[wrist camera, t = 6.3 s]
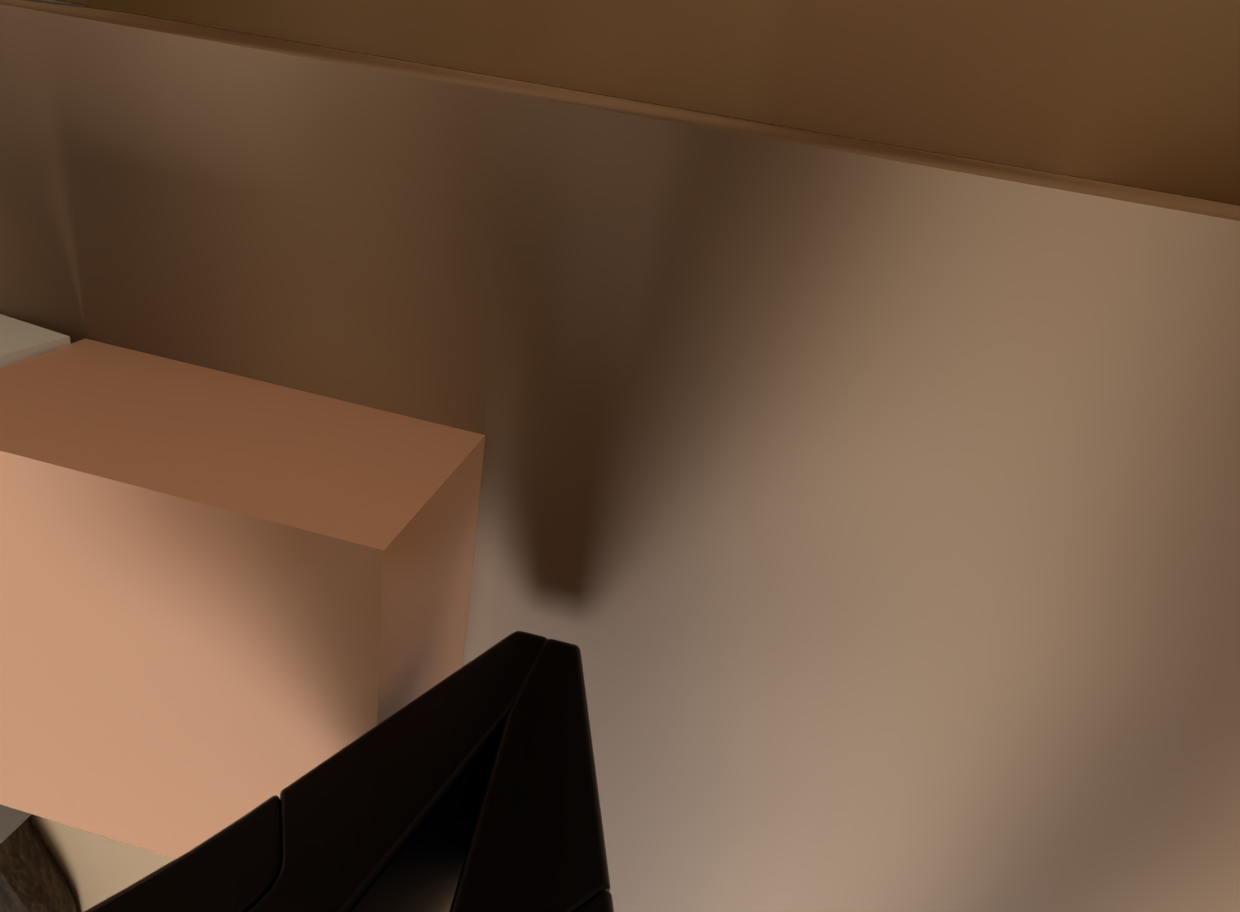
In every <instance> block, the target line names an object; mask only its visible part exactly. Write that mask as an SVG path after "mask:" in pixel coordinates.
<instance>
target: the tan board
mask: <svg viewBox="0 0 1240 912" xmlns="http://www.w3.org/2000/svg"><path fill="white" fill-rule="evenodd" d="M0 314H2V315H5V316H8V317H11V318H14V319H17V320H21V321H24V322H27V323H30V324H33V325H36V326H39V327H42V328H45V329H48V330H51V331H55V332H58V333H61V334H64V335H67V336H70V342H71V343H74V342H77V341H80V340H82V339H90V340H94V341H98V342H102V343H106V344H110V345H114V346H119V347H123V348H127V349H131V350H135V351H139V352H143V353H148V354H152V355H156V356H160V357H164V358H168V359H172V360H176V361H181V362H185V363H189V364H193V365H197V366H201V367H205V368H210V369H214V370H218V371H222V372H226V373H230V374H234V375H239V376H243V377H247V378H251V379H255V380H259V381H263V382H268V383H272V384H276V385H280V386H284V387H288V388H292V389H297V390H301V391H305V392H309V393H313V394H317V395H321V396H326V397H330V398H334V399H338V400H342V401H346V402H350V403H355V404H359V405H363V406H367V407H371V408H375V409H379V410H384V411H388V412H392V413H396V414H400V415H404V416H408V417H413V418H417V419H421V420H425V421H429V422H433V423H437V424H441V425H446V426H450V427H454V428H458V429H462V430H466V431H470V432H475V433H479V434H483V435H485V444H484V454H483V464H482V474H481V484H480V494H479V504H478V514H477V524H476V534H475V543H474V553H473V563H472V573H471V583H470V593H469V603H468V613H467V623H466V632H465V642H464V652H463V662H462V667H463V666H465V665H466V664H467V663H469V662H470V661H472V660H473V659H475V658H476V657H478V656H479V655H481V654H482V653H484V652H485V651H487V650H488V649H489V648H491V647H492V646H494V645H495V644H497V643H498V642H500V641H501V640H503V639H504V638H506V637H507V636H509V635H510V634H511V633H513V632H516V631H524V632H528V633H532V634H536V635H539V636H543V637H546V638H547V639H555V640H559V641H563V642H567V643H571V644H575V645H577V646H578V647H579V648H580V651H581V658H582V666H583V673H584V681H585V689H586V697H587V705H588V713H589V721H590V729H591V737H592V745H593V753H594V760H595V768H596V776H597V784H598V792H599V800H600V808H601V816H602V824H603V832H604V840H605V847H606V855H607V863H608V871H609V879H610V893H611V894H612V900H613V907H614V912H1240V206H1239V205H1234V204H1228V203H1222V202H1216V201H1210V200H1205V199H1199V198H1193V197H1187V196H1182V195H1176V194H1170V193H1164V192H1159V191H1153V190H1147V189H1141V188H1135V187H1130V186H1124V185H1118V184H1112V183H1107V182H1101V181H1095V180H1089V179H1083V178H1078V177H1072V176H1066V175H1060V174H1055V173H1049V172H1043V171H1037V170H1031V169H1026V168H1020V167H1014V166H1008V165H1003V164H997V163H991V162H985V161H980V160H974V159H968V158H962V157H956V156H951V155H945V154H939V153H933V152H928V151H922V150H916V149H910V148H904V147H899V146H893V145H887V144H881V143H876V142H870V141H864V140H858V139H852V138H847V137H841V136H835V135H829V134H824V133H818V132H812V131H806V130H801V129H795V128H789V127H783V126H777V125H772V124H766V123H760V122H754V121H749V120H743V119H737V118H731V117H725V116H720V115H714V114H708V113H702V112H697V111H691V110H685V109H679V108H673V107H668V106H662V105H656V104H650V103H645V102H639V101H633V100H627V99H621V98H616V97H610V96H604V95H598V94H593V93H587V92H581V91H575V90H570V89H564V88H558V87H552V86H546V85H541V84H535V83H529V82H523V81H518V80H512V79H506V78H500V77H494V76H489V75H483V74H477V73H471V72H466V71H460V70H454V69H448V68H442V67H437V66H431V65H425V64H419V63H414V62H408V61H402V60H396V59H391V58H385V57H379V56H373V55H367V54H362V53H356V52H350V51H344V50H339V49H333V48H327V47H321V46H315V45H310V44H304V43H298V42H292V41H287V40H281V39H275V38H269V37H263V36H258V35H252V34H246V33H240V32H235V31H229V30H223V29H217V28H212V27H206V26H200V25H194V24H188V23H183V22H177V21H171V20H165V19H160V18H154V17H148V16H142V15H136V14H131V13H125V12H119V11H110V10H101V9H93V8H84V7H75V6H66V5H58V4H49V3H40V2H32V1H23V0H0Z"/></svg>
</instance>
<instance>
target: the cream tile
mask: <svg viewBox="0 0 1240 912" xmlns="http://www.w3.org/2000/svg"><path fill="white" fill-rule="evenodd" d="M68 344H71V342H70V336H67V335H64V334H61V333H58V332H55V331H51V330H48V329H45V328H42V327H39V326H36V325H33V324H30V323H27V322H24V321H21V320H17V319H14V318H11V317H8V316H5V315H2V314H0V368H3V367H6V366H9V365H11V364H14V363H17V362H20V361H23V360H26V359H29V358H31V357H34V356H37V355H40V354H43V353H46V352H48V351H51V350H54V349H57V348H60V347H63V346H65V345H68Z"/></svg>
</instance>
